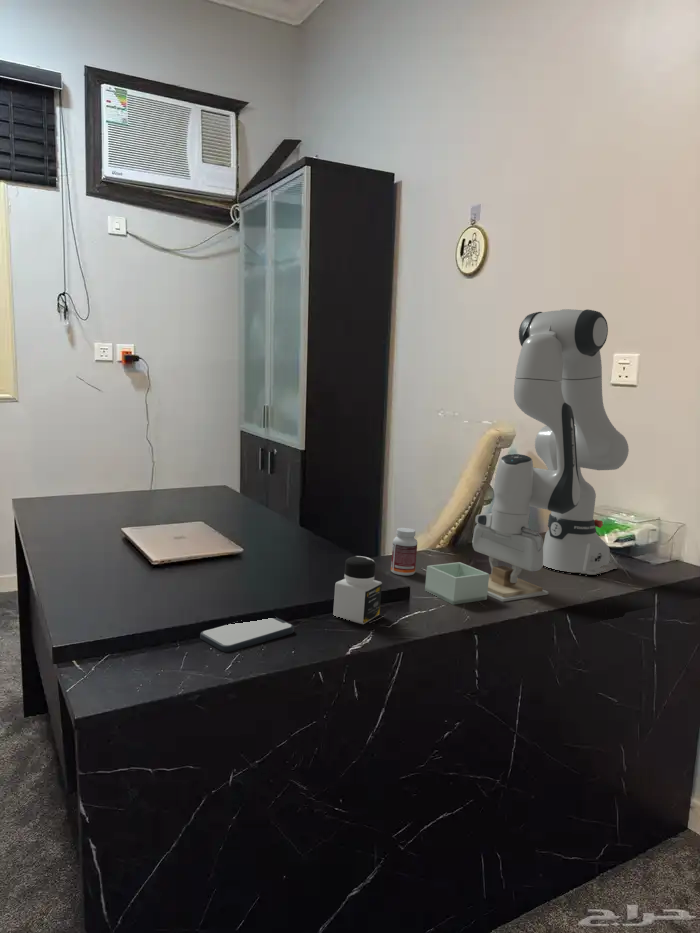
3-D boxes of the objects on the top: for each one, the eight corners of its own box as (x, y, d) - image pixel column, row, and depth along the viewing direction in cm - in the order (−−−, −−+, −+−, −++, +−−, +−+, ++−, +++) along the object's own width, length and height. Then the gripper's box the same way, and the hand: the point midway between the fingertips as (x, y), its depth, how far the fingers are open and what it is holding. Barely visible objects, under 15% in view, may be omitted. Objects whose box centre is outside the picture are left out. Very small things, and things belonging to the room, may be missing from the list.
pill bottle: (420, 574, 170) (423, 531, 168) (400, 577, 166) (404, 533, 165) (404, 567, 175) (408, 526, 174) (385, 570, 172) (389, 527, 170)
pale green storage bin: (457, 586, 162) (459, 562, 161) (486, 599, 154) (489, 573, 153) (424, 590, 157) (427, 565, 156) (453, 604, 149) (455, 578, 148)
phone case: (225, 656, 115) (297, 634, 126) (225, 647, 115) (297, 626, 126) (196, 640, 121) (267, 620, 132) (196, 631, 121) (267, 612, 132)
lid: (503, 575, 172) (504, 559, 172) (542, 591, 161) (544, 573, 161) (464, 580, 165) (466, 563, 165) (502, 597, 154) (504, 579, 154)
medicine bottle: (363, 625, 133) (368, 565, 131) (332, 616, 136) (336, 558, 134) (379, 615, 139) (384, 558, 137) (349, 607, 142) (353, 551, 141)
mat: (502, 576, 174) (503, 574, 174) (548, 594, 161) (548, 591, 161) (458, 582, 166) (458, 579, 166) (502, 601, 153) (502, 599, 153)
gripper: (552, 532, 154) (546, 590, 156) (489, 513, 171) (484, 566, 173) (533, 533, 151) (526, 593, 153) (470, 514, 168) (465, 568, 170)
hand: (503, 578), depth 163 cm, fingers closed on lid, 4 cm apart
